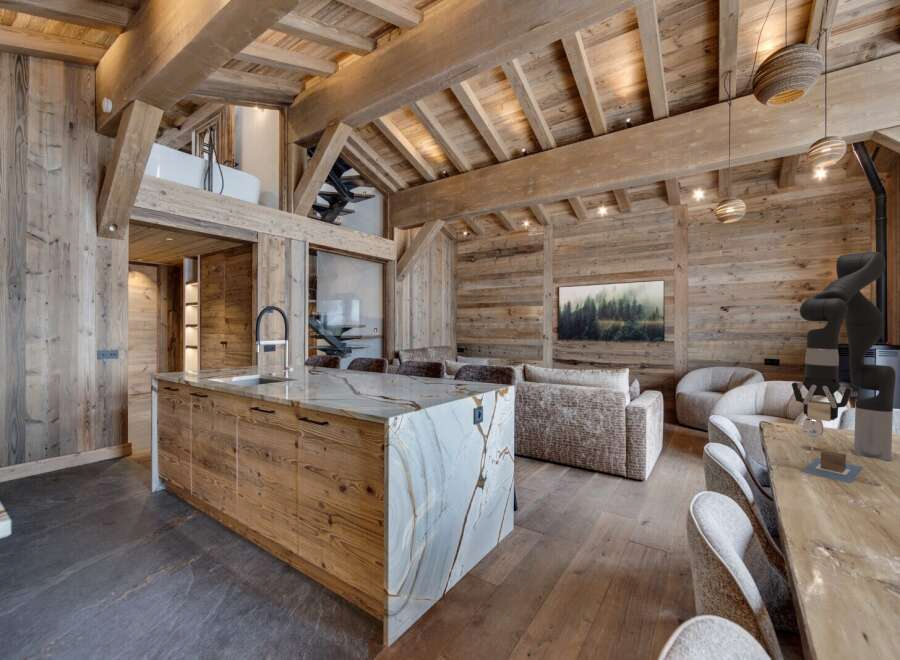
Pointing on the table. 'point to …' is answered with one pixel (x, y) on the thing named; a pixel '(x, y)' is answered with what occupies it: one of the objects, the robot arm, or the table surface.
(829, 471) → the board
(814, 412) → the maple block
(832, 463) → the walnut block
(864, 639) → the table surface
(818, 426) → the wineglass
